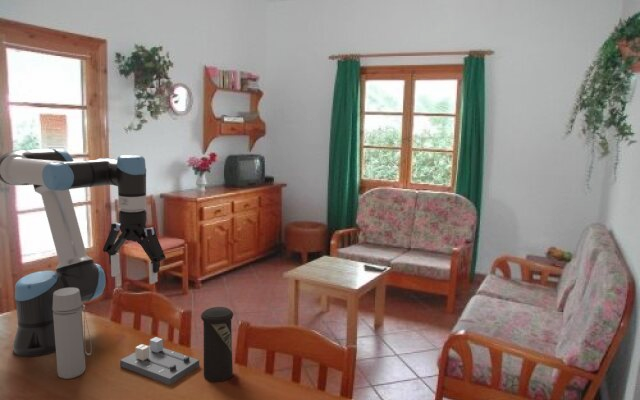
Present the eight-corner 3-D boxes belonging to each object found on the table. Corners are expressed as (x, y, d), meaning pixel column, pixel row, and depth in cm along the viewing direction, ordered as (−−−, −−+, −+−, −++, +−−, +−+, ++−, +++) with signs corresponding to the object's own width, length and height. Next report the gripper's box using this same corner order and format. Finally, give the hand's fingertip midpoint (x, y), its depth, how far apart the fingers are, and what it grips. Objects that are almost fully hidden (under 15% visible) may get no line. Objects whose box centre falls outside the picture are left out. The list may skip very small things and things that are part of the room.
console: (120, 366, 143) (119, 356, 142) (151, 349, 153) (151, 340, 152) (169, 385, 133) (169, 374, 133) (199, 366, 144) (199, 356, 143)
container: (226, 385, 134) (226, 318, 131) (197, 380, 136) (195, 314, 133) (238, 369, 143) (237, 306, 139) (209, 365, 144) (209, 303, 141)
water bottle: (57, 383, 133) (50, 298, 128) (57, 369, 140) (51, 288, 135) (93, 375, 137) (88, 293, 133) (92, 363, 144) (87, 284, 139)
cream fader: (135, 358, 143) (135, 346, 142) (142, 354, 145) (141, 343, 144) (143, 360, 142) (142, 349, 141) (149, 357, 144) (148, 346, 143)
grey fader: (150, 350, 148) (149, 339, 147) (156, 347, 150) (155, 336, 149) (157, 352, 146) (156, 341, 146) (163, 349, 148) (162, 338, 148)
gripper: (88, 206, 138) (91, 276, 142) (161, 217, 130) (161, 290, 135) (107, 202, 145) (109, 268, 149) (177, 211, 137) (177, 281, 142)
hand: (134, 279), depth 142 cm, fingers open, 13 cm apart
